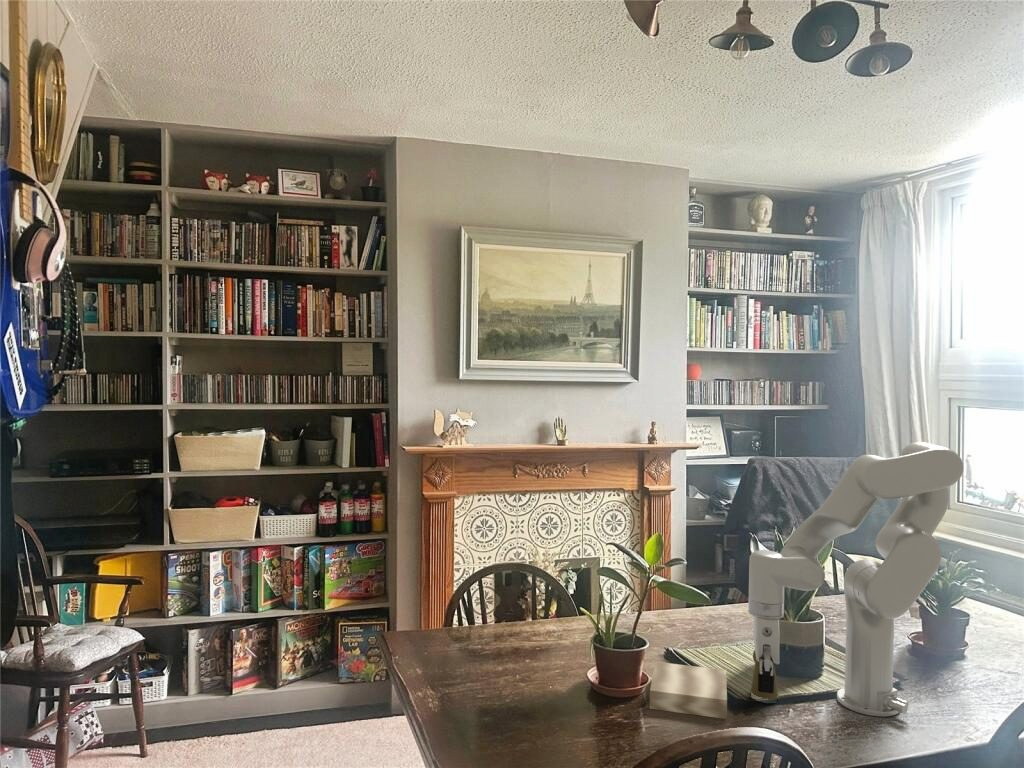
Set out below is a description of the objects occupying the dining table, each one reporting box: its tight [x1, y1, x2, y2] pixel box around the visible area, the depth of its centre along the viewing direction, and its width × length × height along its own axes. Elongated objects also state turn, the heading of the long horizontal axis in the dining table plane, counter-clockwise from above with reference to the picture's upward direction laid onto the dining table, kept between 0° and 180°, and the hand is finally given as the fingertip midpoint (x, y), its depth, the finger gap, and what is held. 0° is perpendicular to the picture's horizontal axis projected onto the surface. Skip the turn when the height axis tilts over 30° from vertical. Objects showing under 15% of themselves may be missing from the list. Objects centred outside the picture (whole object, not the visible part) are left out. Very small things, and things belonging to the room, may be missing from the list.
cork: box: [750, 647, 779, 700], centre depth 163 cm, size 6×6×11 cm
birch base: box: [649, 661, 728, 720], centre depth 163 cm, size 16×16×4 cm
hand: (764, 682), depth 163 cm, fingers open, 9 cm apart
